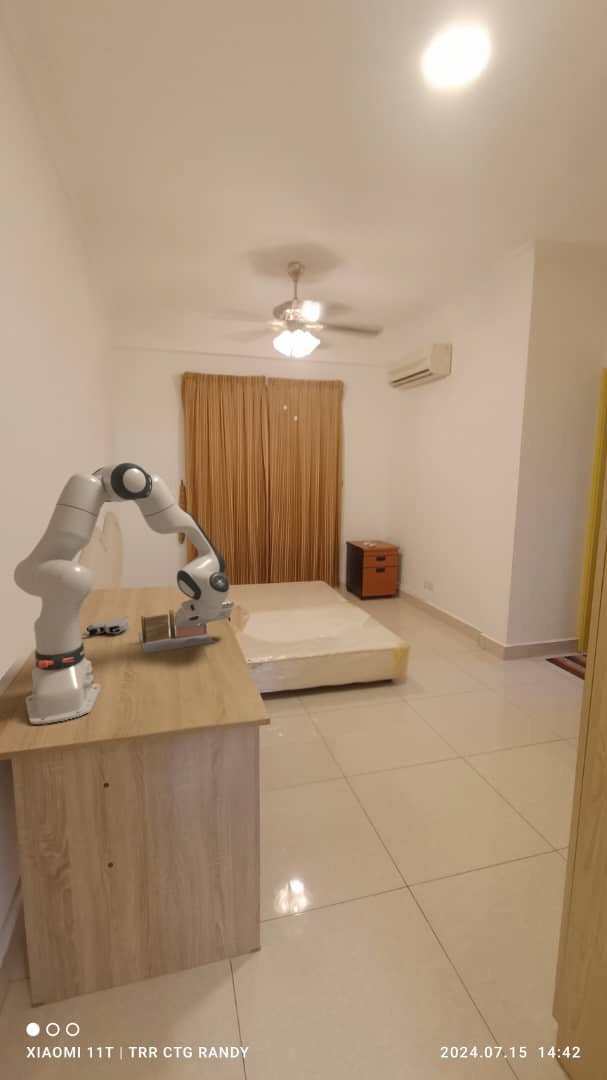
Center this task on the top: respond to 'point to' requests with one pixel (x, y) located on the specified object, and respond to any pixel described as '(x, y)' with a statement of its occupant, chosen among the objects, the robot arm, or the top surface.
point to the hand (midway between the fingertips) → (198, 625)
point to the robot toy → (108, 626)
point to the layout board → (175, 642)
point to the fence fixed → (157, 627)
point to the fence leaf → (190, 630)
